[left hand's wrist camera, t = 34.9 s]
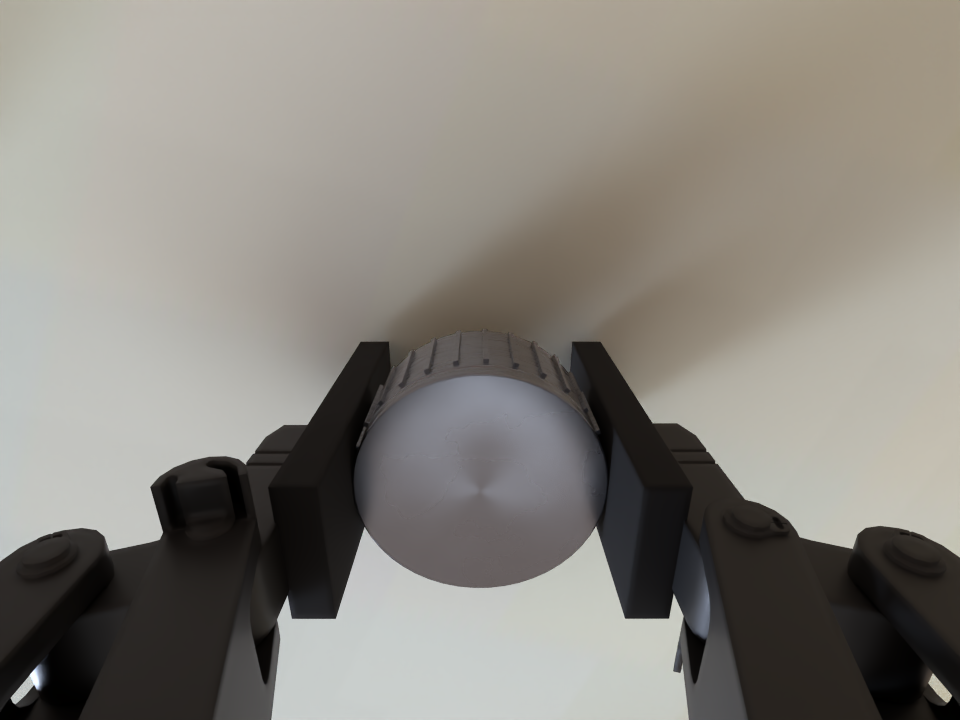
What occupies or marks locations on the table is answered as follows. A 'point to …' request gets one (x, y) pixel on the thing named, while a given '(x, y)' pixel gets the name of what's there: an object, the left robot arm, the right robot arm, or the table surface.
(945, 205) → the table surface
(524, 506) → the lid
